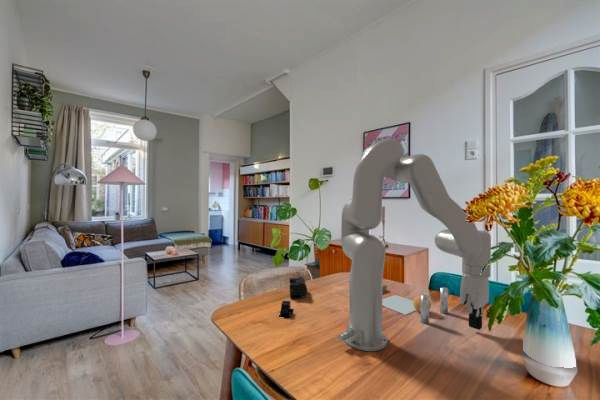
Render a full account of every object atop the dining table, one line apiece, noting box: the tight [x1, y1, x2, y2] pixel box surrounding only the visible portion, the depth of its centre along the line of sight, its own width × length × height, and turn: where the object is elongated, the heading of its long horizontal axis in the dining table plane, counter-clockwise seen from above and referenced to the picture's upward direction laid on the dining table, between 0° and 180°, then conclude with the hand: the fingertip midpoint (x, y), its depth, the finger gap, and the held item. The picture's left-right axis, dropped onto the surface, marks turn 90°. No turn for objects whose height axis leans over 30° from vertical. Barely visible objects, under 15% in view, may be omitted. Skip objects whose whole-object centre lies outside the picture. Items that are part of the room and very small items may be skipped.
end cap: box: [289, 276, 308, 300], centre depth 118 cm, size 10×7×7 cm
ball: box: [412, 294, 432, 313], centre depth 101 cm, size 6×6×6 cm
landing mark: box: [382, 294, 417, 316], centre depth 108 cm, size 14×14×1 cm
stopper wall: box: [382, 283, 388, 293], centre depth 119 cm, size 18×2×2 cm, turn 126°
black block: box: [278, 300, 294, 319], centre depth 100 cm, size 12×7×5 cm, turn 175°
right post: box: [439, 286, 449, 315], centre depth 100 cm, size 3×3×9 cm
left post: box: [420, 294, 430, 325], centre depth 93 cm, size 3×3×9 cm
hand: (475, 327), depth 86 cm, fingers closed
